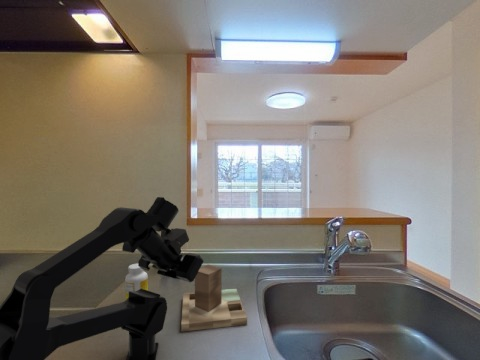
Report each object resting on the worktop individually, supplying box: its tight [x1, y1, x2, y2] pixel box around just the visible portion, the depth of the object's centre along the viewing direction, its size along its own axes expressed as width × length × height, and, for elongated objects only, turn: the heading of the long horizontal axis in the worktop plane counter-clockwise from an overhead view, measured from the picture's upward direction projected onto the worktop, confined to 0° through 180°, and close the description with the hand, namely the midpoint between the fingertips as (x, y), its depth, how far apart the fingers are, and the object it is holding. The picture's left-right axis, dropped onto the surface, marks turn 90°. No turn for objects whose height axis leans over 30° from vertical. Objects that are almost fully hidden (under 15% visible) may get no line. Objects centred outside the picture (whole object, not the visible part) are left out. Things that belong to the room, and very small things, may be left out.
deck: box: [180, 288, 248, 333], centre depth 78 cm, size 18×18×2 cm
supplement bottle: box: [124, 263, 149, 300], centre depth 81 cm, size 7×7×13 cm
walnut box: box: [194, 264, 223, 312], centre depth 78 cm, size 6×6×11 cm
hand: (185, 278), depth 70 cm, fingers closed
